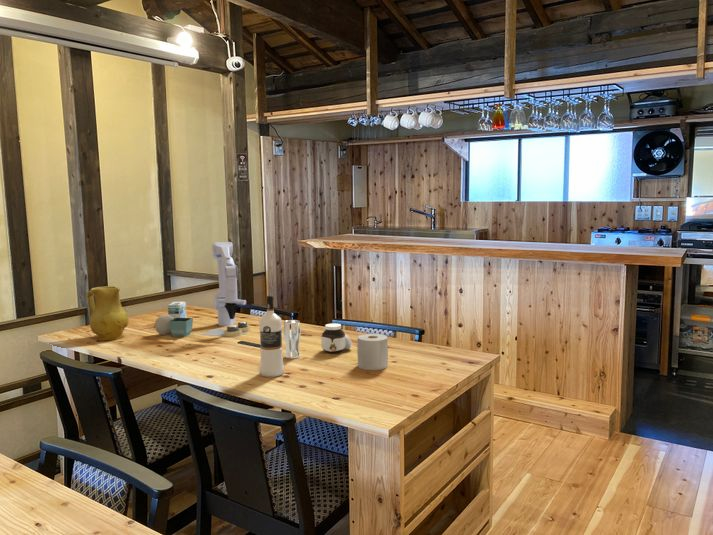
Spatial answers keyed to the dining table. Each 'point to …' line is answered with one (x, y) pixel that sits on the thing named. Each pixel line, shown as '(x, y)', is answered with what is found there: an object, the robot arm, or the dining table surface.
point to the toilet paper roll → (372, 351)
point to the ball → (163, 324)
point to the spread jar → (335, 339)
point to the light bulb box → (177, 310)
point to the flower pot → (181, 326)
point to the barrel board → (242, 330)
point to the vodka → (271, 342)
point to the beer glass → (292, 338)
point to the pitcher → (106, 313)
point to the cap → (232, 328)
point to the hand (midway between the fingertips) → (232, 318)
